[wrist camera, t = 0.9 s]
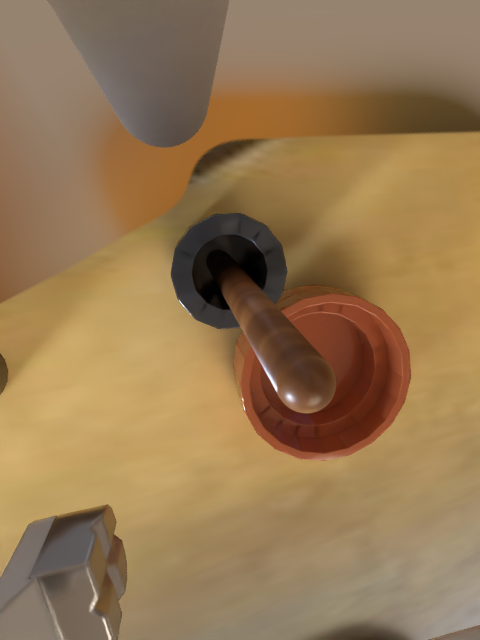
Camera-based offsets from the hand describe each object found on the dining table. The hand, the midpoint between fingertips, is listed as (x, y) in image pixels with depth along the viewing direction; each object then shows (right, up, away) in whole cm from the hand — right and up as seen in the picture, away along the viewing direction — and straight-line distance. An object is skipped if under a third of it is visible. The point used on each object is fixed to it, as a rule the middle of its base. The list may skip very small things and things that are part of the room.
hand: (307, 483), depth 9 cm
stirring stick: (-3, +8, +25) cm, 26 cm away
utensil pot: (-3, +8, +26) cm, 27 cm away
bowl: (+5, 0, +28) cm, 29 cm away
